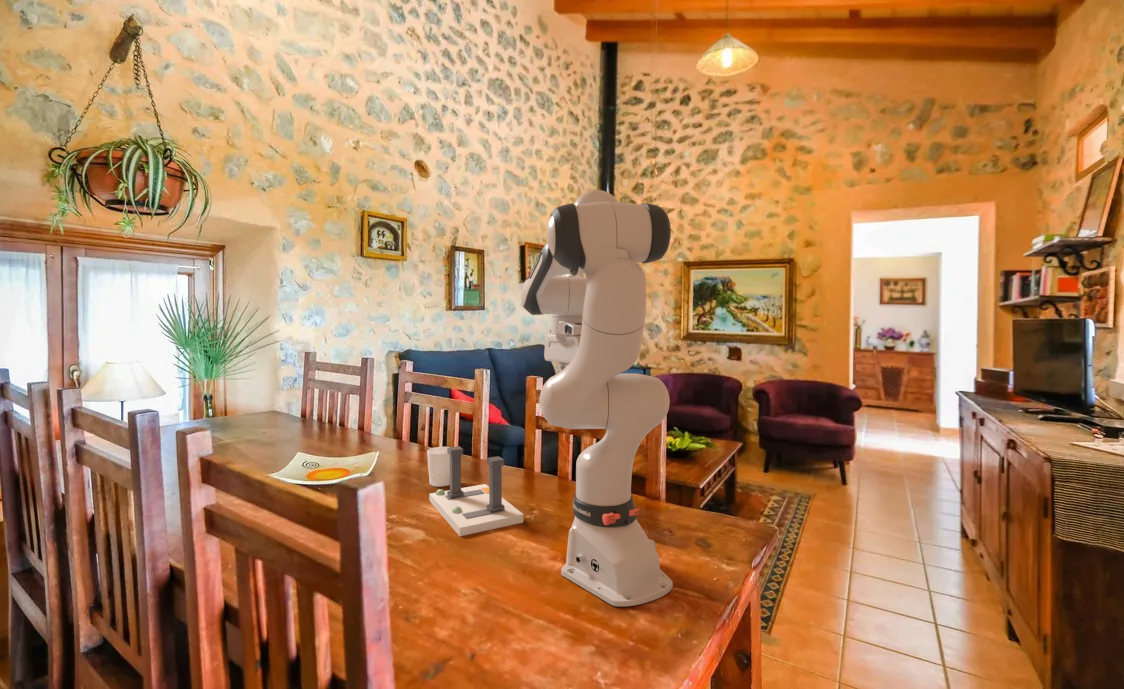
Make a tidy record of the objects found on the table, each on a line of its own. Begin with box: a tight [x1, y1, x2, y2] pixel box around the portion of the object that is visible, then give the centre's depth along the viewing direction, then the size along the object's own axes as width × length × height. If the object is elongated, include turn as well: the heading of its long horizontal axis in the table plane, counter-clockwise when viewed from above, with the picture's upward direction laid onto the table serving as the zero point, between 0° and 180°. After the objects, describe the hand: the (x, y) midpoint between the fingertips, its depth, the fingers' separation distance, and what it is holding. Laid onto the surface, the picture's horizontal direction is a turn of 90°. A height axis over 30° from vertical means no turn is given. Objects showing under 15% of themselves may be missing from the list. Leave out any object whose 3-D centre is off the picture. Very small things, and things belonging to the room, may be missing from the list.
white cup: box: [426, 446, 450, 488], centre depth 152 cm, size 8×8×10 cm
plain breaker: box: [486, 455, 505, 512], centre depth 126 cm, size 3×4×12 cm
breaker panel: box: [428, 483, 524, 537], centre depth 131 cm, size 25×16×3 cm, turn 30°
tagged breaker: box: [446, 445, 464, 498], centre depth 136 cm, size 3×4×12 cm
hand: (566, 379), depth 138 cm, fingers closed
